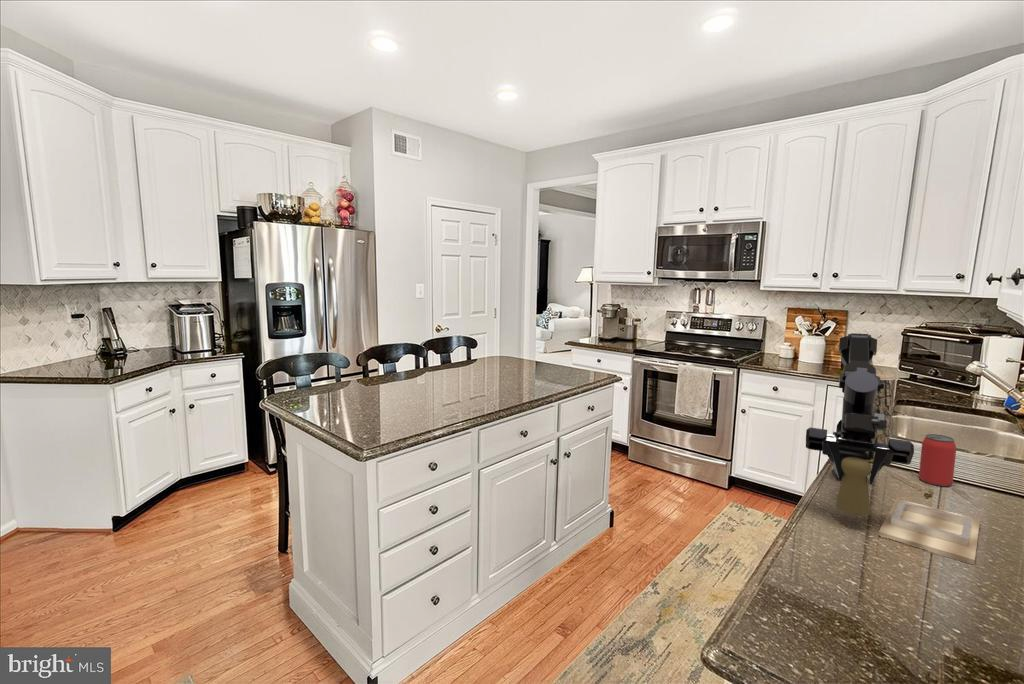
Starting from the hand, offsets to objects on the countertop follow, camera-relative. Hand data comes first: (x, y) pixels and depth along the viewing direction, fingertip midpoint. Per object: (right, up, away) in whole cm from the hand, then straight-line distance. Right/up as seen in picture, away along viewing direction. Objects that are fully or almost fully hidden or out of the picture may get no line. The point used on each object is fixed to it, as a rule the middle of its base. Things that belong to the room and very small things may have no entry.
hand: (855, 481), depth 99 cm
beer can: (+38, -7, +24) cm, 46 cm away
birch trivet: (+15, -10, 0) cm, 18 cm away
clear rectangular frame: (+15, -10, 0) cm, 18 cm away
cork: (+1, -7, +2) cm, 7 cm away
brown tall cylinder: (+34, -6, +40) cm, 52 cm away
